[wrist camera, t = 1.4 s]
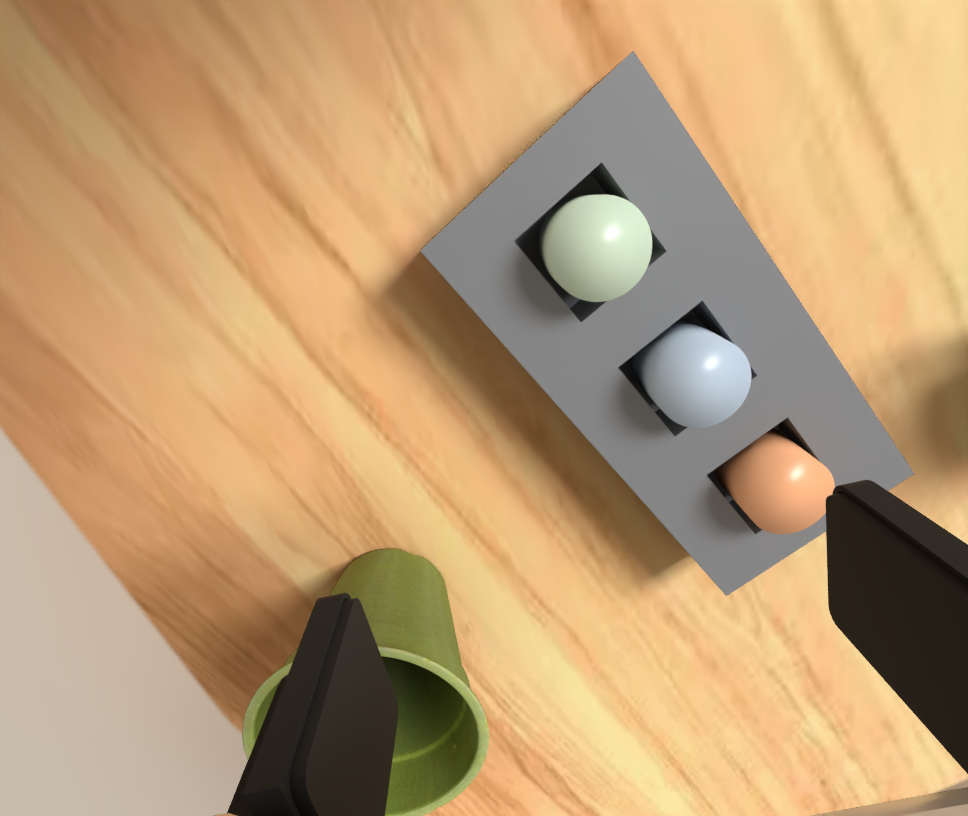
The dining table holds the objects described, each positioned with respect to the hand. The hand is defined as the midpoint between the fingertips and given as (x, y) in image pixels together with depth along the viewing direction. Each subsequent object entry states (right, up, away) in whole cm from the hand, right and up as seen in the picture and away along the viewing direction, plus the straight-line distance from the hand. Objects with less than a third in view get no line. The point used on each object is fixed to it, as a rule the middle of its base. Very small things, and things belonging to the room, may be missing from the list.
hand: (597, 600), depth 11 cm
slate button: (+8, +6, +19) cm, 21 cm away
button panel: (+8, +7, +21) cm, 24 cm away
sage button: (+3, +12, +16) cm, 20 cm away
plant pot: (-8, -8, +27) cm, 29 cm away
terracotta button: (+13, +1, +21) cm, 25 cm away
